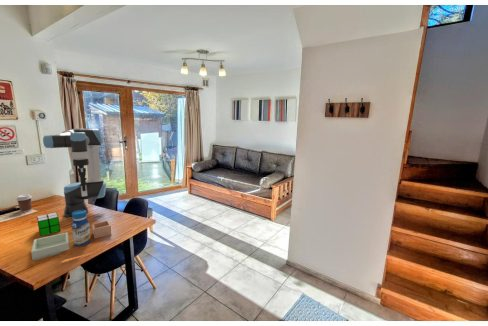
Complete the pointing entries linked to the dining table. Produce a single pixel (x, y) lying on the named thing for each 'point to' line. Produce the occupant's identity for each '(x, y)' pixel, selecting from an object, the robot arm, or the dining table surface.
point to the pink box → (101, 229)
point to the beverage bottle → (80, 228)
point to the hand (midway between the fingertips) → (84, 193)
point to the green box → (50, 246)
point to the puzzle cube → (48, 224)
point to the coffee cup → (24, 202)
